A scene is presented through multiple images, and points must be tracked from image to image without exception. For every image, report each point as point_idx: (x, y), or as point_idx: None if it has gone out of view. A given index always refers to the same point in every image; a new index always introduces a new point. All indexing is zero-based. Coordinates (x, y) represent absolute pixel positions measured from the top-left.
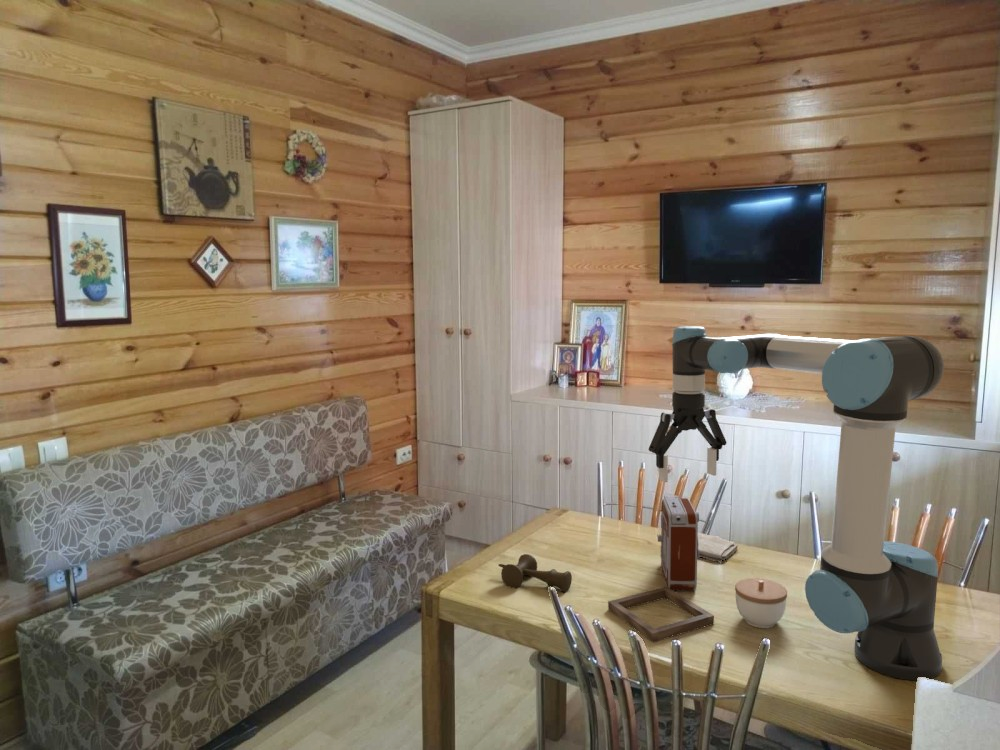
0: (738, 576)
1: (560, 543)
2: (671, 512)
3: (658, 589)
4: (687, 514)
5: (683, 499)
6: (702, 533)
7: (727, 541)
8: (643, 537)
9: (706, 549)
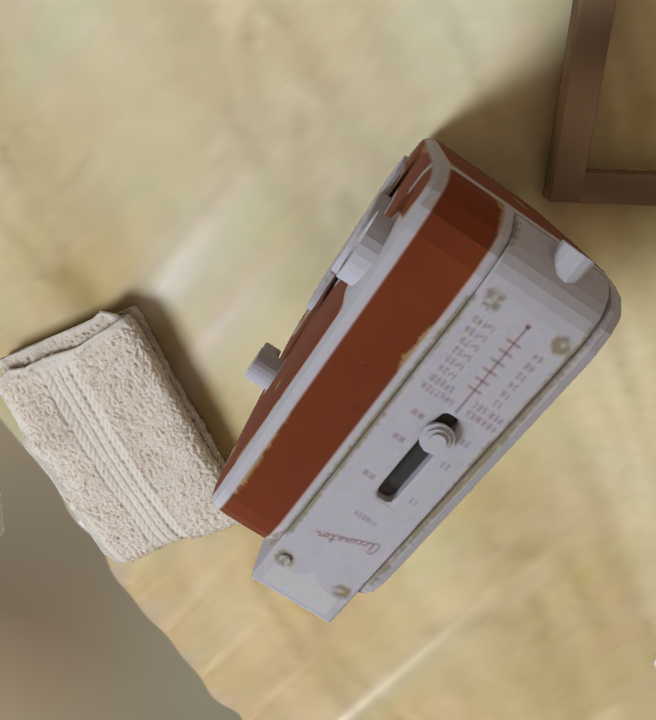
0: (156, 168)
1: (539, 711)
2: (576, 345)
3: (603, 193)
4: (487, 247)
5: (273, 498)
6: (64, 497)
7: (18, 397)
8: (251, 604)
9: (142, 385)
